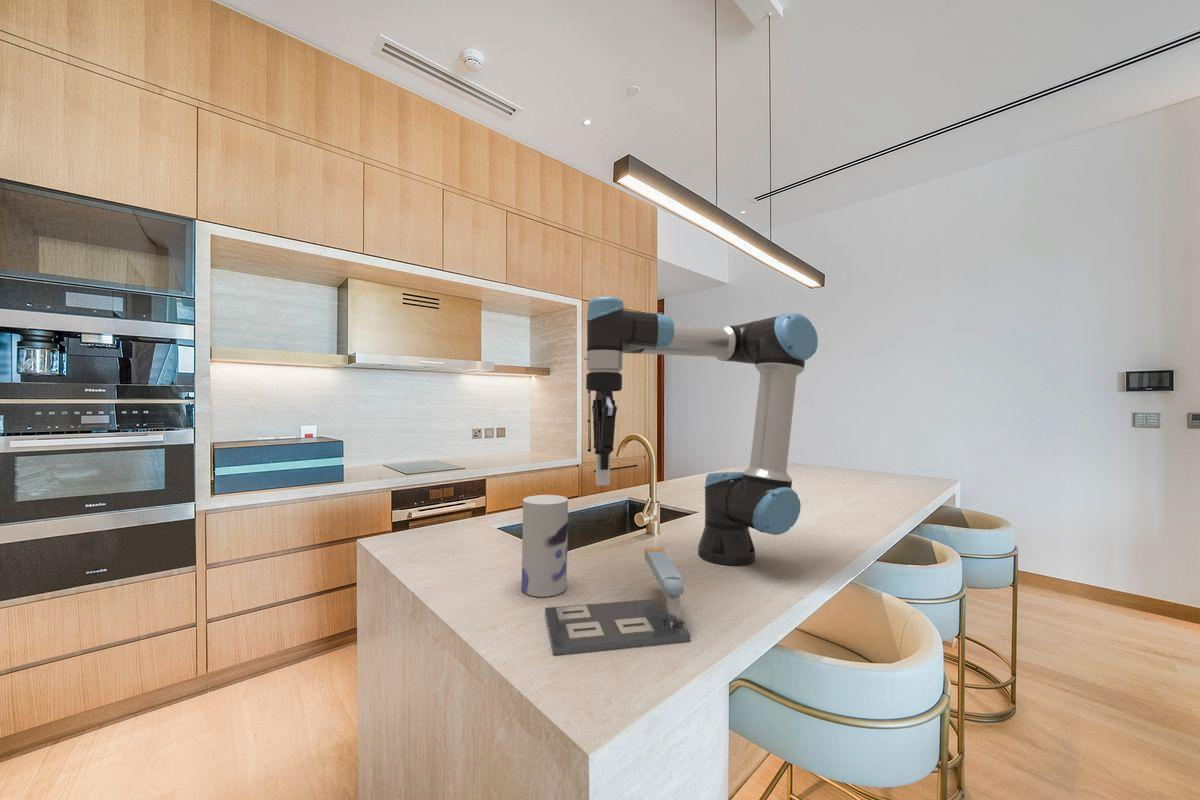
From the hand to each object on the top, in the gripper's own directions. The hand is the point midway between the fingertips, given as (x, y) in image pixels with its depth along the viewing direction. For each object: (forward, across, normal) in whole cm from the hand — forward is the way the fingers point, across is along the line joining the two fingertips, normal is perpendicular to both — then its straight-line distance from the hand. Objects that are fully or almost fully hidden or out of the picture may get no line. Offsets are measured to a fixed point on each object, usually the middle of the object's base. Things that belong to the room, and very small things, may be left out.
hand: (602, 484), depth 95 cm
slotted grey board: (+24, +11, 0) cm, 27 cm away
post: (+24, +14, +10) cm, 30 cm away
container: (+25, -9, -11) cm, 28 cm away
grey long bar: (+18, +6, +12) cm, 22 cm away
